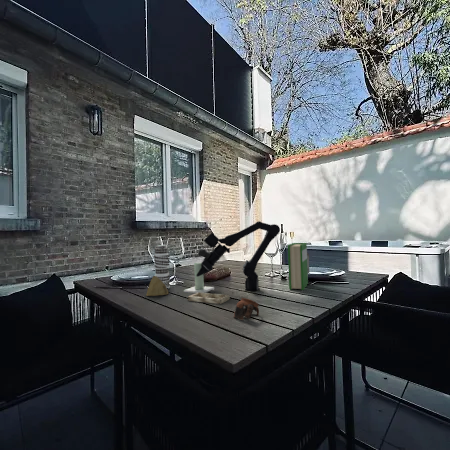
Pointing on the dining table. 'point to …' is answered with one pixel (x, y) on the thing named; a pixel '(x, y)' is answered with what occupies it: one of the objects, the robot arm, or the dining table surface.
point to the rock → (156, 287)
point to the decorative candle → (162, 264)
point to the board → (193, 290)
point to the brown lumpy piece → (248, 309)
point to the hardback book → (297, 265)
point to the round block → (198, 280)
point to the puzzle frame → (209, 298)
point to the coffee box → (307, 262)
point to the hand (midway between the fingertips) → (197, 274)
